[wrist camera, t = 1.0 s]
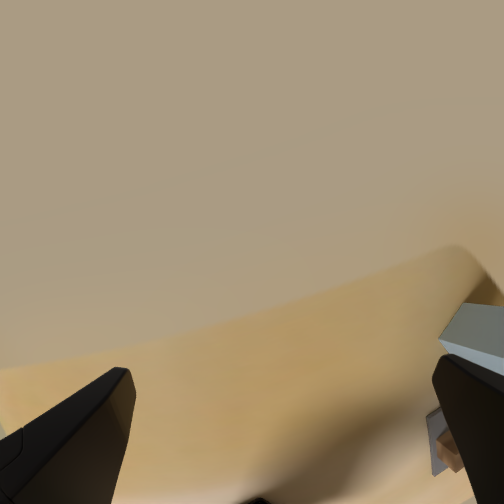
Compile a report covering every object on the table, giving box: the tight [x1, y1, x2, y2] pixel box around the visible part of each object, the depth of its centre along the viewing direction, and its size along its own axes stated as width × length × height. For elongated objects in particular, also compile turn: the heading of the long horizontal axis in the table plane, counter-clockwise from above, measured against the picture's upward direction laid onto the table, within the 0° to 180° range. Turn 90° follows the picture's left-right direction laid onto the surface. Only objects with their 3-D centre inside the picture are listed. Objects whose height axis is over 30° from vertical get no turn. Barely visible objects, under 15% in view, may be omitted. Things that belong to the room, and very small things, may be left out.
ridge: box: [436, 430, 464, 473], centre depth 20 cm, size 3×9×4 cm, turn 111°
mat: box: [426, 407, 449, 477], centre depth 22 cm, size 10×10×1 cm
